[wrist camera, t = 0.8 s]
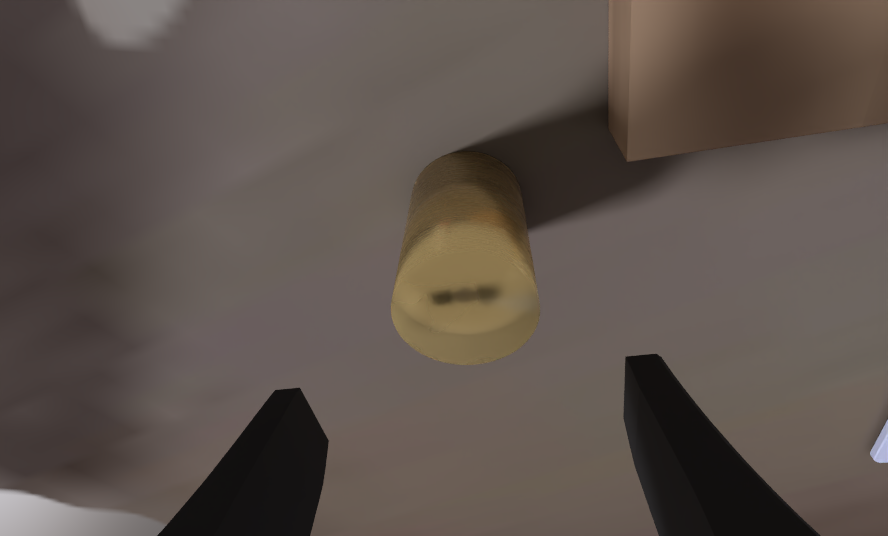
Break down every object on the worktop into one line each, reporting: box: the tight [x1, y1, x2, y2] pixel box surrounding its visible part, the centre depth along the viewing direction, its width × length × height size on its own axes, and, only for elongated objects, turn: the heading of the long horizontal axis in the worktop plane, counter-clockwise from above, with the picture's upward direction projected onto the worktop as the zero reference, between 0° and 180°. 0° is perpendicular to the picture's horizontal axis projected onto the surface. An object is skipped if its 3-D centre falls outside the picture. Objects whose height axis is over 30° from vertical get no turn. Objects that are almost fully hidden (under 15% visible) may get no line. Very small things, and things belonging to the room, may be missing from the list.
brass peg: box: [391, 151, 540, 365], centre depth 16 cm, size 4×4×6 cm
